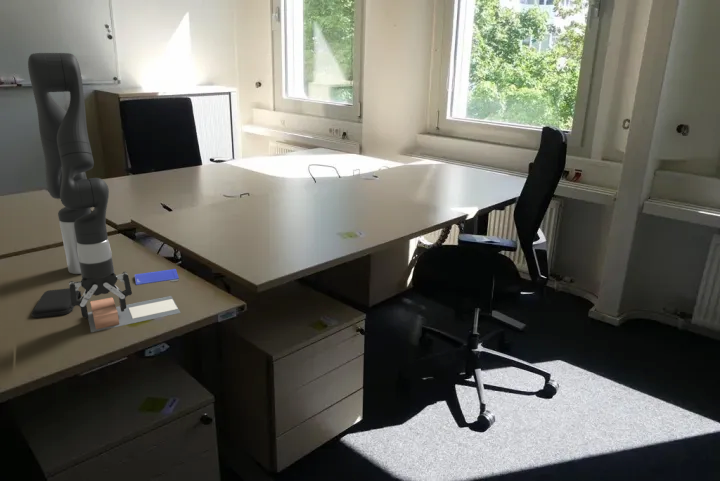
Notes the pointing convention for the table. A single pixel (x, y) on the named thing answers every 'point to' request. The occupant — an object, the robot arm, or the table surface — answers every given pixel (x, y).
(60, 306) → the carrying case or bag
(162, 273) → the hard drive
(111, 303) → the block
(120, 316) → the mat
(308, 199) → the table surface
